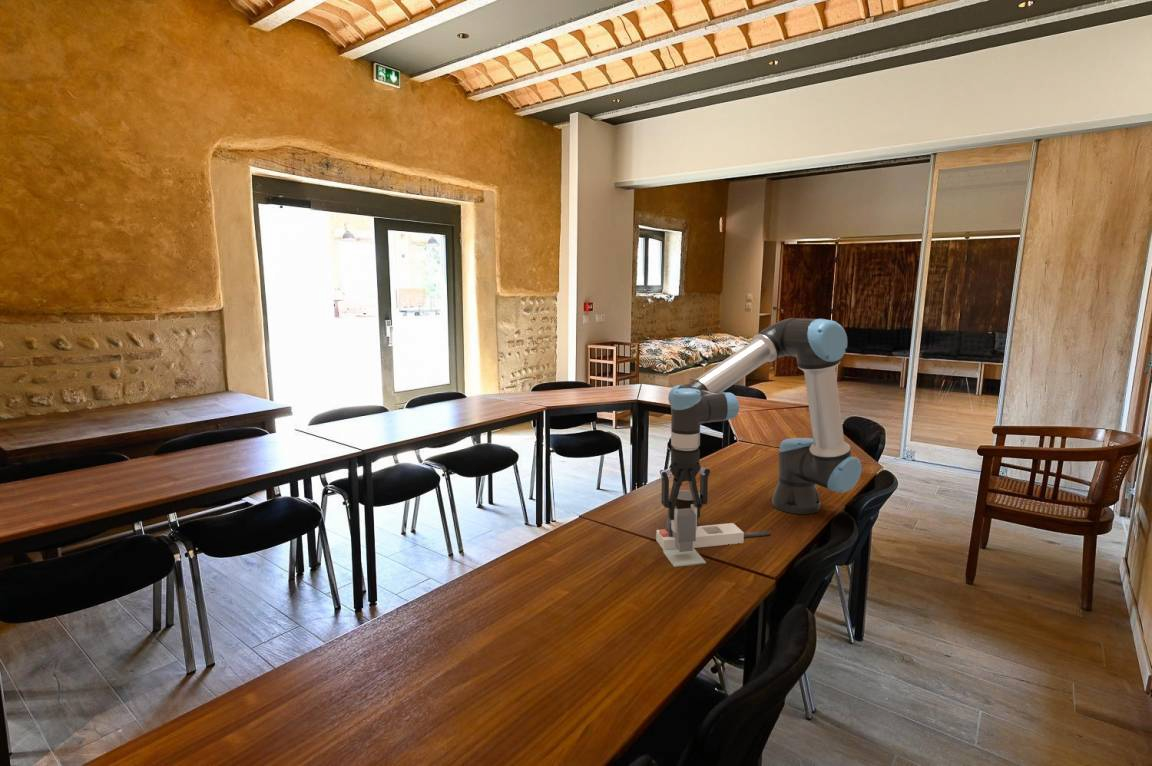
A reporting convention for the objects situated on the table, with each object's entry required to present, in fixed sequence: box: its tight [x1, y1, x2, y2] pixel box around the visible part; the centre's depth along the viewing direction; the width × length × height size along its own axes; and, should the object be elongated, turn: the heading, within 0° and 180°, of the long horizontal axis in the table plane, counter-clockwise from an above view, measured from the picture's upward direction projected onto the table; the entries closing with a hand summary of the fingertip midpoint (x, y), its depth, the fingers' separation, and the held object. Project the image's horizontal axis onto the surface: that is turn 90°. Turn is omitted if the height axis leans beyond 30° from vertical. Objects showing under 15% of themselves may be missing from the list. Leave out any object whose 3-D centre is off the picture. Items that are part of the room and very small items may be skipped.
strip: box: [655, 518, 771, 551], centre depth 165 cm, size 34×7×7 cm, turn 100°
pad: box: [662, 548, 707, 568], centre depth 155 cm, size 9×9×1 cm
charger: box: [673, 508, 696, 552], centre depth 154 cm, size 5×5×10 cm
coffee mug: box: [675, 489, 700, 523], centre depth 177 cm, size 12×9×10 cm
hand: (683, 529), depth 154 cm, fingers closed on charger, 5 cm apart
